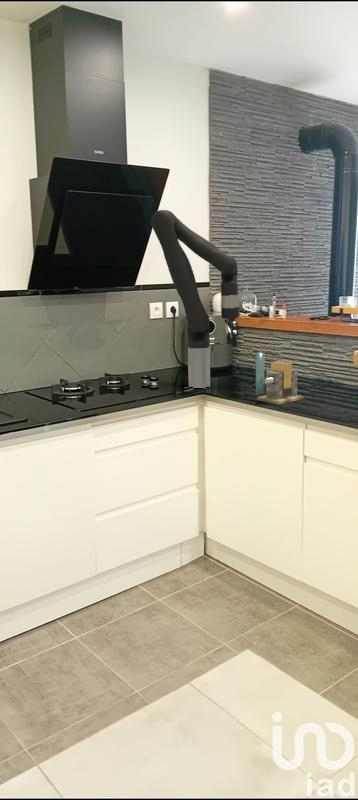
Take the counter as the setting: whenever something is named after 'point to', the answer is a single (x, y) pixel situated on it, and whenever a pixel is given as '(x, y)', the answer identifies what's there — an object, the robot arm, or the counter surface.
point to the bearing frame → (280, 389)
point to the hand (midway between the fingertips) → (231, 345)
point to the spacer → (283, 372)
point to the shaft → (261, 374)
